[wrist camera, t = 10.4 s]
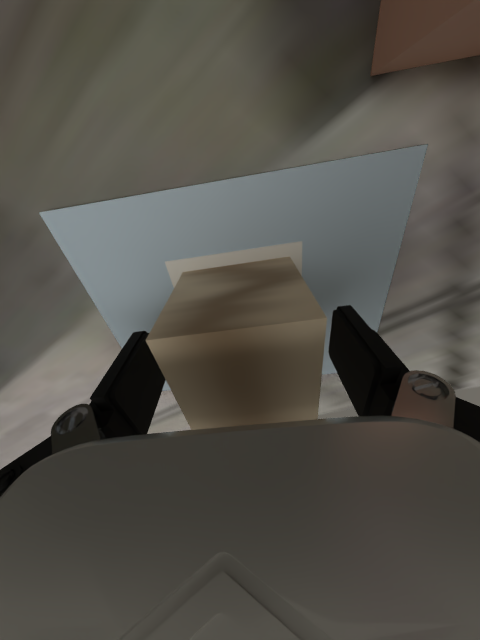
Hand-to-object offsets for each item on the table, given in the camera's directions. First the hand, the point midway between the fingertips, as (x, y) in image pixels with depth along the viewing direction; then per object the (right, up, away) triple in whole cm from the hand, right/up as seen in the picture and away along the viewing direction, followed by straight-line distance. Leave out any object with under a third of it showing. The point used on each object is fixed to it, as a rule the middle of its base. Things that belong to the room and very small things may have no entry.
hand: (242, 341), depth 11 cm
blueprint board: (0, +2, +3) cm, 4 cm away
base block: (0, +2, +2) cm, 3 cm away
